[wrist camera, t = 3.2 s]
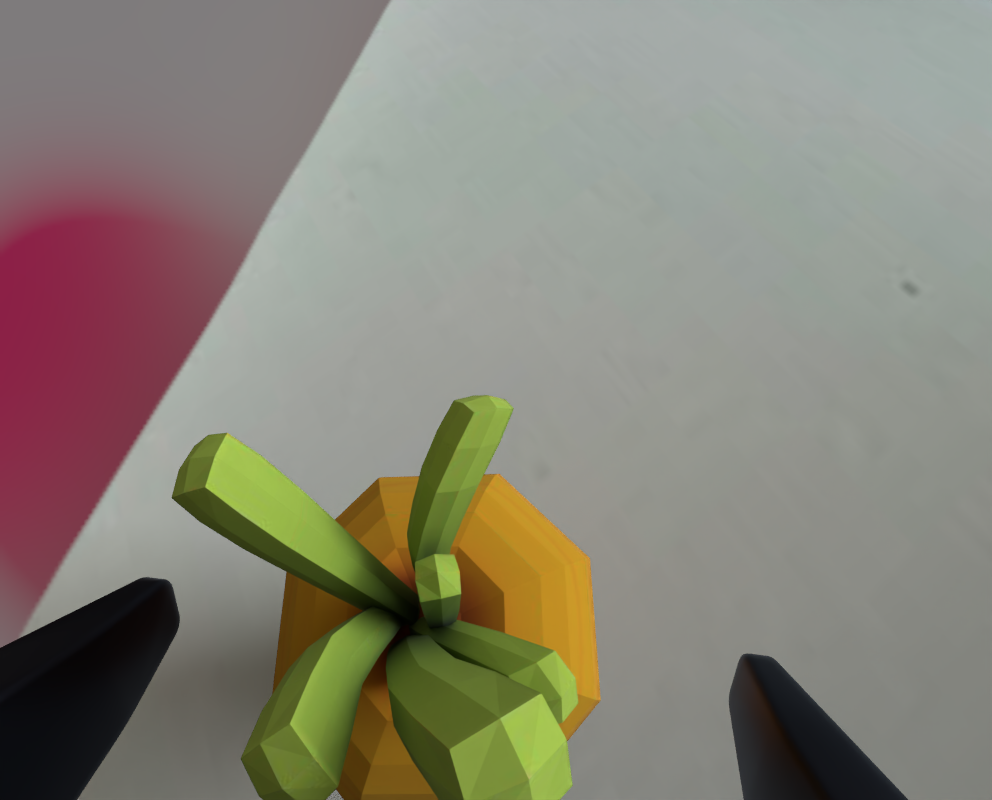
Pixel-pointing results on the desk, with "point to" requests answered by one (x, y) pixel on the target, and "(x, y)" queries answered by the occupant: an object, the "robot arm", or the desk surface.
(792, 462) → the desk surface
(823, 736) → the robot arm
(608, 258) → the desk surface
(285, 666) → the carrot
